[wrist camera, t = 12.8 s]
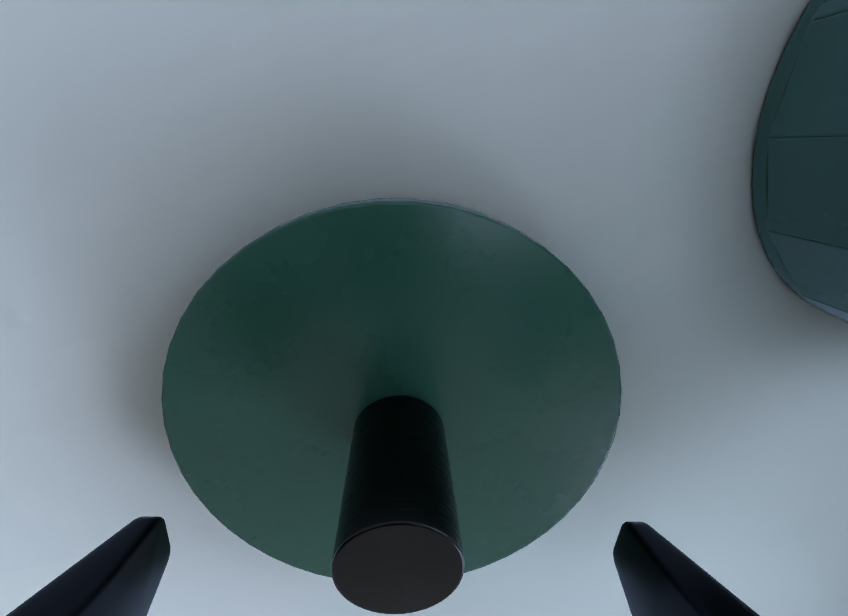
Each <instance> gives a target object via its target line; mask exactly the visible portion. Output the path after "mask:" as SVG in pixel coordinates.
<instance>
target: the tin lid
mask: <svg viewBox="0 0 848 616" xmlns="http://www.w3.org/2000/svg"><path fill="white" fill-rule="evenodd" d="M620 402H621V379H620V366H619V361H618V357H617V353H616V349H615V344H614V340H613V337H612V335H611V333H610V330H609V328H608V326H607V323H606V321H605V318H604V316H603V314H602V312H601V311H600V309H599V307H598V306H597V304H596V303H595V301H594V299H593V298H592V296H591V295H590V293H589V291H588V290H587V289H586V288H585V286H584V285H583V284H582V283H581V282H580V281H579V280H578V278H577V277H576V276H575V275H574V274H573V273H572V271H571V270H570V269H569V268H568V267H567V266H566V265H564V264H563V263H562V262H561V261H560V260H559V259H557V258H556V257H555V256H554V255H553V254H552V253H550V252H549V251H548V250H547V249H546V248H544V247H543V246H542V245H540V244H539V243H537V242H536V241H534V240H532V239H531V238H529V237H528V236H526V235H524V234H523V233H521V232H520V231H518V230H516V229H515V228H513V227H512V226H510V225H507V224H505V223H503V222H500V221H498V220H496V219H494V218H491V217H489V216H487V215H485V214H482V213H479V212H476V211H472V210H469V209H465V208H462V207H458V206H455V205H451V204H447V203H440V202H433V201H426V200H419V199H372V200H364V201H356V202H348V203H342V204H339V205H335V206H331V207H328V208H324V209H320V210H316V211H313V212H309V213H307V214H305V215H302V216H300V217H298V218H295V219H293V220H291V221H288V222H286V223H284V224H281V225H279V226H277V227H276V228H274V229H272V230H271V231H269V232H267V233H266V234H264V235H263V236H261V237H259V238H258V239H256V240H254V241H253V242H251V243H249V244H248V245H246V246H245V247H243V248H242V249H241V250H240V251H238V252H237V253H236V254H235V255H234V256H232V257H231V258H230V259H229V260H228V261H226V262H225V263H224V264H223V265H222V266H220V267H219V268H218V269H217V270H216V271H215V272H214V273H213V275H212V276H211V277H210V278H209V279H208V280H207V281H206V283H205V284H204V285H203V286H202V287H201V288H200V289H199V291H198V292H197V293H196V294H195V296H194V298H193V299H192V301H191V302H190V304H189V306H188V307H187V309H186V310H185V312H184V314H183V315H182V317H181V318H180V321H179V323H178V326H177V328H176V331H175V333H174V335H173V338H172V340H171V343H170V345H169V349H168V354H167V358H166V362H165V367H164V371H163V384H162V408H163V417H164V426H165V429H166V433H167V437H168V440H169V444H170V448H171V451H172V453H173V455H174V457H175V460H176V462H177V464H178V466H179V469H180V471H181V473H182V475H183V476H184V478H185V479H186V481H187V482H188V484H189V486H190V487H191V489H192V490H193V492H194V493H195V495H196V496H197V497H198V498H199V500H200V501H201V502H202V503H203V504H204V505H205V507H206V508H207V509H208V510H209V511H210V513H211V514H213V515H214V516H215V517H216V518H217V519H218V520H219V521H220V522H221V523H222V524H223V525H224V526H226V527H227V528H228V529H229V530H230V531H231V532H233V533H234V534H236V535H237V536H238V537H240V538H241V539H242V540H244V541H245V542H247V543H248V544H249V545H251V546H253V547H255V548H256V549H258V550H260V551H262V552H263V553H265V554H267V555H269V556H271V557H273V558H275V559H277V560H280V561H282V562H284V563H286V564H289V565H291V566H293V567H296V568H299V569H302V570H305V571H309V572H312V573H315V574H318V575H323V576H327V577H332V578H333V581H334V584H335V586H336V588H337V589H338V591H339V592H340V593H341V594H342V595H343V596H344V597H345V598H346V599H347V600H348V601H350V602H351V603H353V604H355V605H356V606H358V607H361V608H363V609H366V610H369V611H372V612H377V613H384V614H405V613H412V612H417V611H421V610H424V609H427V608H429V607H432V606H434V605H436V604H438V603H439V602H441V601H443V600H444V599H445V598H447V597H448V596H449V595H450V594H451V593H452V592H453V591H454V590H455V589H456V588H457V586H458V585H459V583H460V581H461V579H462V576H463V573H466V572H469V571H472V570H475V569H478V568H481V567H484V566H486V565H489V564H491V563H493V562H496V561H498V560H500V559H503V558H505V557H507V556H509V555H511V554H512V553H514V552H516V551H518V550H520V549H522V548H523V547H525V546H527V545H528V544H530V543H531V542H533V541H534V540H536V539H537V538H539V537H540V536H542V535H543V534H544V533H546V532H547V531H548V530H549V529H551V528H552V527H553V526H554V525H555V524H556V523H558V522H559V521H560V520H561V519H562V518H563V517H565V515H566V514H567V513H568V512H569V511H570V510H571V509H572V508H573V507H574V506H575V505H576V504H577V503H578V502H579V500H580V499H581V498H582V497H583V495H584V494H585V493H586V491H587V490H588V488H589V487H590V486H591V484H592V483H593V482H594V480H595V478H596V476H597V475H598V473H599V471H600V469H601V467H602V466H603V464H604V462H605V460H606V458H607V455H608V453H609V450H610V447H611V445H612V442H613V440H614V436H615V432H616V428H617V423H618V419H619V415H620Z"/></svg>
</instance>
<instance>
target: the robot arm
mask: <svg viewBox="0 0 848 616" xmlns="http://www.w3.org/2000/svg"><path fill="white" fill-rule="evenodd" d="M169 556H170V543H169V538H168V534H167V529H166V524H165V521H164V519H163V518H162V517H139V518H137V519H135V520H133V521H132V522H130V523H129V524H128V525H126V526H125V527H124V528H122V529H121V530H120V531H118V532H117V533H116V534H114V535H113V536H112V537H110V538H109V539H108V540H106V541H105V542H104V543H102V544H101V545H100V546H98V547H97V548H96V549H94V550H93V551H92V552H90V553H89V554H88V555H86V556H85V557H84V558H82V559H81V560H80V561H78V562H77V563H76V564H74V565H73V566H72V567H70V568H69V569H68V570H66V571H65V572H64V573H62V574H61V575H60V576H58V577H57V578H56V579H54V580H53V581H52V582H50V583H49V584H48V585H46V586H45V587H44V588H42V589H41V590H40V591H38V592H37V593H36V594H34V595H33V596H32V597H30V598H29V599H28V600H26V601H25V602H24V603H22V604H21V605H20V606H18V607H17V608H16V609H14V610H13V611H12V612H10V613H9V614H8V615H6V616H147V613H148V611H149V608H150V605H151V603H152V600H153V598H154V595H155V593H156V590H157V588H158V585H159V583H160V580H161V578H162V575H163V573H164V570H165V568H166V565H167V563H168V560H169ZM613 557H614V562H615V565H616V568H617V571H618V574H619V577H620V580H621V583H622V587H623V590H624V593H625V596H626V599H627V602H628V605H629V608H630V611H631V614H632V616H760V615H758V614H757V613H756V612H755V611H753V610H752V609H751V608H750V607H748V606H747V605H746V604H745V603H744V602H742V601H741V600H740V599H739V598H737V597H736V596H735V595H734V594H733V593H731V592H730V591H729V590H728V589H726V588H725V587H724V586H723V585H722V584H720V583H719V582H718V581H717V580H715V579H714V578H713V577H712V576H711V575H709V574H708V573H707V572H706V571H704V570H703V569H702V568H701V567H699V566H698V565H697V564H696V563H695V562H693V561H692V560H691V559H690V558H688V557H687V556H686V555H685V554H684V553H682V552H681V551H680V550H679V549H677V548H676V547H675V546H674V545H673V544H671V543H670V542H669V541H668V540H666V539H665V538H664V537H663V536H662V535H660V534H659V533H658V532H657V531H655V530H654V529H653V528H652V527H650V526H649V525H648V524H646V523H644V522H625V523H624V524H623V525H622V526H621V529H620V532H619V535H618V538H617V541H616V543H615V546H614V550H613Z"/></svg>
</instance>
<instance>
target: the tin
mask: <svg viewBox="0 0 848 616" xmlns="http://www.w3.org/2000/svg"><path fill="white" fill-rule="evenodd" d="M752 189H753V202H754V213H755V218H756V222H757V226H758V231H759V235H760V238H761V241H762V243H763V246H764V248H765V251H766V253H767V256H768V258H769V260H770V261H771V263H772V265H773V266H774V268H775V269H776V271H777V272H778V274H779V275H780V277H781V278H782V279H783V280H784V281H785V283H786V284H787V285H788V286H789V287H790V288H791V289H792V290H793V291H794V292H795V293H796V294H797V295H799V296H800V297H801V298H803V299H804V300H805V301H807V302H808V303H810V304H811V305H812V306H814V307H816V308H819V309H821V310H823V311H825V312H827V313H829V314H831V315H834V316H836V317H838V318H840V319H841V320H843V321H845V322H846V323H848V0H811V1H810V3H809V4H808V6H807V8H806V9H805V11H804V13H803V15H802V17H801V19H800V21H799V22H798V24H797V26H796V28H795V30H794V32H793V34H792V36H791V38H790V40H789V42H788V44H787V46H786V48H785V50H784V52H783V55H782V57H781V60H780V62H779V65H778V67H777V70H776V72H775V75H774V77H773V80H772V82H771V85H770V88H769V91H768V95H767V98H766V101H765V105H764V108H763V112H762V115H761V118H760V123H759V128H758V134H757V139H756V145H755V151H754V161H753V179H752Z"/></svg>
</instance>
